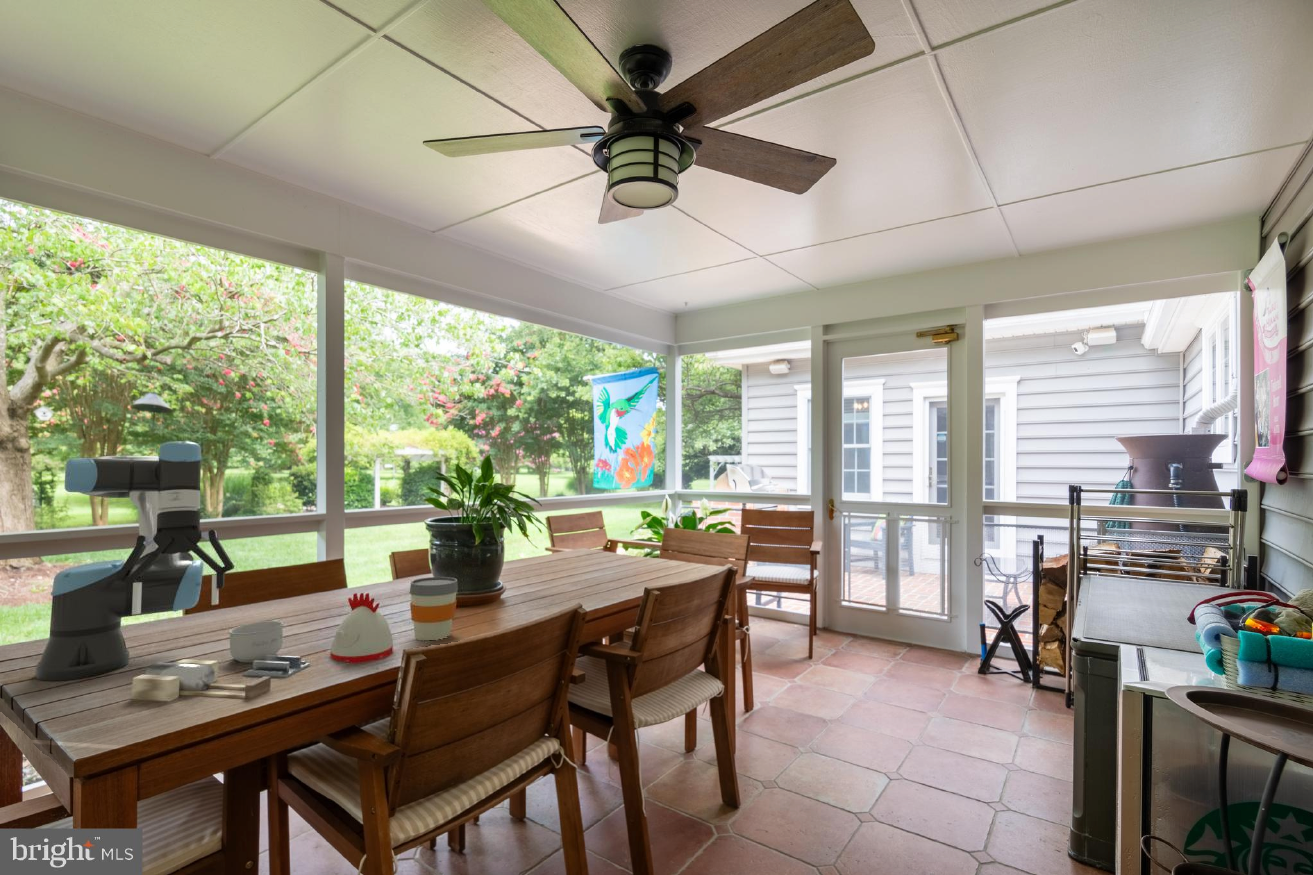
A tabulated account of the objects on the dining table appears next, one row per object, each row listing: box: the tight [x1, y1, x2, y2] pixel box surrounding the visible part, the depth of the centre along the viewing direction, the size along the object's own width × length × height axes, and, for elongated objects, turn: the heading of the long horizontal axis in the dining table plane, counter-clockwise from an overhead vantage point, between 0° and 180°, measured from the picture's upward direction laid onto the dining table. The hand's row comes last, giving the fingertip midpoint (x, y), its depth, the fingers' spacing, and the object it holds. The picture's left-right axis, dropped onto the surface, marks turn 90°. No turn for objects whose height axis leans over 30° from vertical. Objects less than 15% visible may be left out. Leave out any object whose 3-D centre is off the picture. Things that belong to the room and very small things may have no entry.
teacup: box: [228, 619, 284, 663], centre depth 145 cm, size 14×11×8 cm
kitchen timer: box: [329, 592, 394, 664], centre depth 149 cm, size 14×14×15 cm
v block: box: [242, 654, 311, 679], centre depth 135 cm, size 10×8×3 cm
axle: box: [144, 661, 215, 691], centre depth 123 cm, size 11×5×5 cm, turn 85°
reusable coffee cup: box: [409, 576, 459, 642], centre depth 165 cm, size 13×13×15 cm
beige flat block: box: [131, 658, 272, 702], centre depth 122 cm, size 22×12×4 cm, turn 85°
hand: (176, 609), depth 130 cm, fingers open, 13 cm apart
